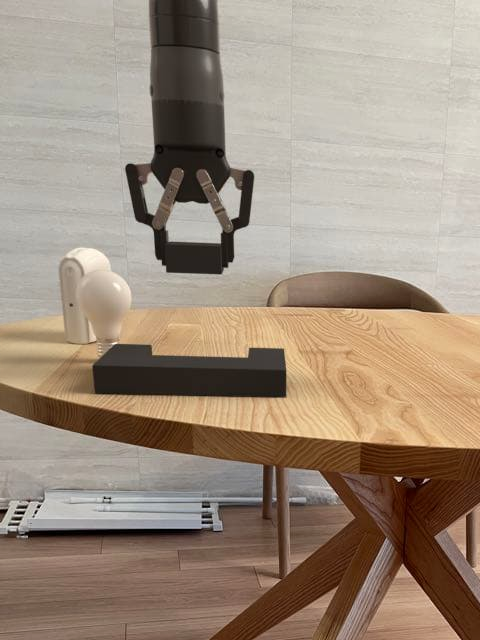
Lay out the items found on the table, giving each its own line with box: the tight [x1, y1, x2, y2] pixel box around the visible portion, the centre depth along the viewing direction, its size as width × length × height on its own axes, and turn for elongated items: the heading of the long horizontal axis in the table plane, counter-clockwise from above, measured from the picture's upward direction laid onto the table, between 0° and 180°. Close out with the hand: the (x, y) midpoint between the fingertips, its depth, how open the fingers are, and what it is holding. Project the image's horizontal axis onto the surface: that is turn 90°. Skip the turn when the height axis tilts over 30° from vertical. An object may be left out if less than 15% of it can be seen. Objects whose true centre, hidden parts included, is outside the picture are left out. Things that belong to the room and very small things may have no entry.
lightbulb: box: [76, 269, 133, 359], centre depth 101 cm, size 6×6×11 cm
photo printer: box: [58, 246, 112, 345], centre depth 116 cm, size 10×4×12 cm, turn 177°
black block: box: [165, 240, 225, 275], centre depth 94 cm, size 6×6×3 cm
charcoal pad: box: [91, 343, 287, 398], centre depth 94 cm, size 20×14×3 cm
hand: (195, 265), depth 94 cm, fingers closed on black block, 6 cm apart
